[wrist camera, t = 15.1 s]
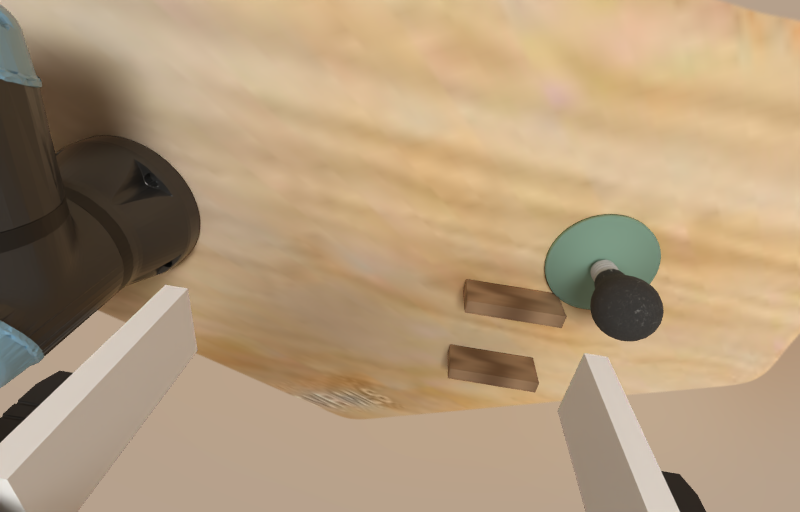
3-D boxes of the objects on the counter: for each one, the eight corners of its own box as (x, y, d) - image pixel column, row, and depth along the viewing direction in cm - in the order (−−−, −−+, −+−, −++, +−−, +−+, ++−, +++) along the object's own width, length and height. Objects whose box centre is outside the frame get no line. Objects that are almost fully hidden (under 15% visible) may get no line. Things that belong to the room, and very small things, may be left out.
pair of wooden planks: (447, 353, 52) (447, 378, 48) (466, 279, 46) (467, 300, 43) (529, 367, 52) (535, 392, 48) (557, 293, 46) (566, 316, 43)
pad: (531, 297, 47) (533, 300, 46) (564, 206, 41) (565, 208, 40) (632, 313, 46) (634, 317, 46) (677, 223, 41) (680, 226, 40)
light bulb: (567, 249, 43) (598, 309, 34) (627, 235, 41) (675, 295, 33) (575, 293, 45) (605, 360, 36) (632, 282, 44) (676, 349, 35)
